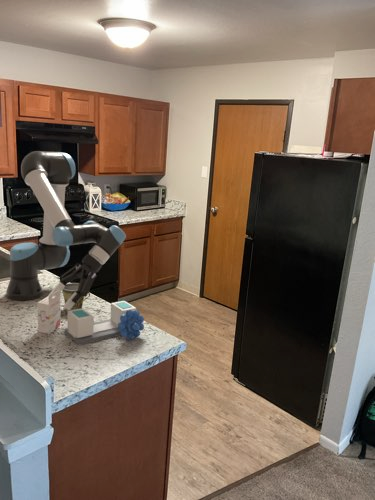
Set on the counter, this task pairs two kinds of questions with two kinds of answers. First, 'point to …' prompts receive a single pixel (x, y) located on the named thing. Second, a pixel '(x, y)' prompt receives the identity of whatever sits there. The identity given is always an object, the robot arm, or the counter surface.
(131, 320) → the blue thick lobed disc
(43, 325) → the ink cartridge box
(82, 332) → the rail board
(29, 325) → the counter surface
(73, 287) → the ceramic cup
